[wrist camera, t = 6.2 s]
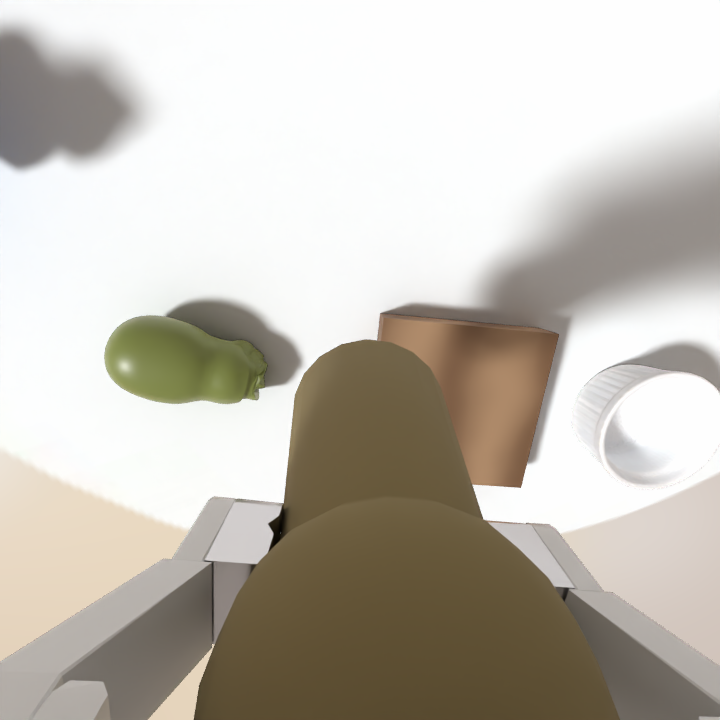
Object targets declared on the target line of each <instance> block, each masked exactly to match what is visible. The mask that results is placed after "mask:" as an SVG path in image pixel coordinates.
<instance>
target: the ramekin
mask: <svg viewBox="0 0 720 720" xmlns="http://www.w3.org/2000/svg"><path fill="white" fill-rule="evenodd" d="M571 423H572V429H573V432H574V434H575V436H576V439H577V440H578V441H579V443H580V444H581V445H582V446H583V447H584V448H585V449H586V450H587V451H588V452H589V453H590V454H591V455H592V456H593V457H594V458H595V459H597V460H598V461H599V462H600V463H601V464H602V466H603V467H604V468H605V470H606V471H607V472H608V473H609V474H610V475H611V476H612V477H613V478H614V479H615V480H617V481H618V482H620V483H622V484H624V485H626V486H629V487H632V488H637V489H647V490H650V489H659V488H664V487H668V486H671V485H674V484H676V483H679V482H681V481H683V480H685V479H686V478H688V477H690V476H691V475H693V474H694V473H695V472H697V471H698V470H700V469H701V468H702V467H703V466H704V465H705V464H706V463H707V462H708V461H709V459H710V458H711V457H712V456H713V454H714V453H715V451H716V450H717V448H718V447H719V445H720V392H719V391H718V389H717V388H716V387H715V386H714V385H713V384H712V383H710V382H709V381H708V380H706V379H705V378H703V377H701V376H698V375H696V374H692V373H688V372H681V371H667V370H662V369H657V368H653V367H648V366H642V365H634V364H631V365H619V366H615V367H611V368H609V369H607V370H604V371H602V372H600V373H599V374H597V375H596V376H595V377H593V378H592V379H591V380H590V381H589V382H588V383H587V384H586V385H585V386H584V387H583V388H582V389H581V391H580V392H579V394H578V396H577V398H576V400H575V402H574V405H573V408H572V414H571Z"/></svg>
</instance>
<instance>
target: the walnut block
mask: <svg viewBox="0 0 720 720" xmlns="http://www.w3.org/2000/svg"><path fill="white" fill-rule="evenodd" d="M558 337H559V334H557V333H554V332H551V331H547V330H544V329H541V328H534V327H523V326H512V325H502V324H491V323H480V322H469V321H459V320H448V319H437V318H427V317H416V316H405V315H394V314H384V313H380V321H379V330H378V339H377V341H385V342H392V343H394V344H396V345H398V346H401V347H403V348H405V349H407V350H410V351H412V352H414V353H415V354H416V355H417V356H418V357H419V358H420V359H421V360H422V361H423V362H424V363H426V364H427V365H428V366H429V367H430V368H431V370H432V372H433V374H434V376H435V378H436V379H437V381H438V383H439V385H440V387H441V389H442V393H443V396H444V399H445V402H446V405H447V408H448V411H449V414H450V417H451V421H452V424H453V427H454V430H455V433H456V436H457V439H458V442H459V445H460V449H461V452H462V455H463V458H464V461H465V464H466V467H467V470H468V474H469V477H470V480H471V483H472V484H474V485H489V486H504V487H518V488H521V485H522V481H523V477H524V473H525V469H526V465H527V461H528V457H529V453H530V449H531V445H532V441H533V437H534V433H535V429H536V425H537V421H538V417H539V413H540V409H541V405H542V401H543V397H544V393H545V389H546V385H547V381H548V377H549V373H550V369H551V365H552V361H553V357H554V353H555V349H556V345H557V341H558Z"/></svg>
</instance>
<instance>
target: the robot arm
mask: <svg viewBox="0 0 720 720" xmlns="http://www.w3.org/2000/svg"><path fill="white" fill-rule="evenodd" d="M283 515H284V503H274V502H265V501H256V500H246V499H234V498H224V497H212V498H211V499H210V500H208V502H207V503H206V505H205V506H204V508H203V510H202V511H201V513H200V514H199V516H198V518H197V519H196V521H195V522H194V524H193V526H192V527H191V529H190V530H189V532H188V534H187V535H186V537H185V539H184V540H183V542H182V543H181V545H180V546H179V548H178V550H177V551H176V553H175V554H174V556H173V558H172V559H162V560H160V561H159V562H157V563H156V564H154V565H153V566H151V567H149V568H148V569H146V570H145V571H143V572H141V573H140V574H138V575H137V576H135V577H133V578H132V579H130V580H129V581H127V582H126V583H124V584H122V585H121V586H119V587H118V588H116V589H115V590H113V591H111V592H110V593H108V594H106V595H105V596H103V597H102V598H100V599H99V600H97V601H95V602H94V603H92V604H91V605H89V606H87V607H86V608H84V609H83V610H81V611H80V612H78V613H76V614H75V615H73V616H72V617H70V618H69V619H67V620H65V621H64V622H62V623H61V624H59V625H57V626H56V627H54V628H53V629H51V630H50V631H48V632H46V633H45V634H43V635H42V636H40V637H38V638H37V639H35V640H34V641H32V642H31V643H29V644H27V645H26V646H24V647H23V648H21V649H19V650H18V651H16V652H15V653H13V654H11V655H10V656H8V657H7V658H5V659H4V660H2V661H0V720H148V719H149V717H150V716H151V715H152V714H153V713H154V712H155V711H156V710H157V709H158V707H159V706H160V705H161V704H162V703H163V702H164V701H165V699H166V698H167V697H168V696H169V695H170V694H171V693H172V692H173V691H174V689H175V688H176V687H177V686H178V685H179V684H180V683H181V682H182V680H183V679H184V678H185V677H186V676H187V675H188V673H190V672H191V670H192V669H193V668H194V667H195V666H196V665H197V664H198V663H199V661H200V660H201V659H202V658H203V657H204V656H205V655H206V654H207V652H208V651H209V650H210V649H211V648H212V644H215V643H216V640H217V638H218V635H219V633H220V631H221V629H222V626H223V624H224V622H225V620H226V618H227V615H228V613H229V611H230V609H231V607H232V604H233V602H234V600H235V598H236V596H237V594H238V592H239V591H240V589H241V588H242V586H243V585H244V583H245V582H246V580H247V579H248V577H249V576H250V574H251V573H252V571H253V570H254V568H255V567H256V565H257V564H258V562H259V561H260V560H261V559H262V558H263V557H264V556H265V555H266V554H267V553H268V552H269V551H270V550H271V549H272V548H273V547H274V546H275V545H276V544H277V543H278V542H279V541H280V536H281V534H280V533H281V526H282V520H283ZM485 521H486V520H485ZM486 522H488V523H489V524H490V525H491V526H492V527H494V528H495V529H496V530H497V531H498V532H500V533H501V534H502V535H503V536H504V537H506V538H507V539H508V540H509V541H511V542H512V543H513V544H514V545H515V546H517V547H518V548H519V549H520V550H521V551H522V552H523V553H524V554H525V555H526V556H527V557H528V558H529V559H530V560H531V561H532V562H533V563H534V564H535V565H536V566H537V567H538V568H539V569H540V570H541V571H542V572H543V573H544V574H545V575H546V576H547V577H548V578H549V579H550V581H551V583H552V584H553V586H554V587H555V589H556V590H557V592H558V593H559V595H560V596H561V598H562V600H563V601H564V603H565V604H566V606H567V607H568V609H569V610H570V612H571V613H572V615H573V617H574V618H575V620H576V621H577V623H578V625H579V627H580V629H581V631H582V633H583V635H584V636H585V638H586V640H587V642H588V644H589V646H590V648H591V650H592V652H593V654H594V656H595V658H596V659H597V661H598V663H599V666H600V668H601V671H602V673H603V676H604V679H605V681H606V684H607V686H608V689H609V692H610V694H611V697H612V700H613V702H614V705H615V707H616V710H617V713H618V715H619V718H620V720H720V666H719V665H718V664H716V663H715V662H713V661H712V660H711V659H709V658H708V657H706V656H705V655H703V654H702V653H700V652H699V651H697V650H696V649H694V648H693V647H692V646H690V645H689V644H687V643H686V642H684V641H683V640H681V639H680V638H678V637H677V636H676V635H674V634H673V633H671V632H670V631H668V630H667V629H665V628H664V627H662V626H661V625H660V624H658V623H657V622H655V621H654V620H652V619H651V618H649V617H648V616H646V615H645V614H643V613H642V612H641V611H639V610H638V609H636V608H635V607H633V606H632V605H630V604H629V603H627V602H626V601H625V600H623V599H622V598H620V597H619V596H617V595H616V594H614V593H613V592H605V591H604V590H603V589H602V588H601V586H600V585H599V584H598V583H597V581H596V580H595V579H594V577H593V576H592V575H591V574H590V572H589V571H588V570H587V568H586V567H585V566H584V564H583V563H582V562H581V561H580V559H579V558H578V557H577V555H576V554H575V553H574V552H573V550H572V549H571V548H570V546H569V545H568V544H567V543H566V542H565V540H564V539H563V537H562V536H561V535H560V534H559V532H558V531H557V530H556V529H555V528H554V527H553V526H551V525H549V524H535V523H526V524H524V523H512V522H499V521H486Z"/></svg>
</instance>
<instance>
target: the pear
mask: <svg viewBox="0 0 720 720" xmlns="http://www.w3.org/2000/svg"><path fill="white" fill-rule="evenodd" d="M263 357H264V355H263V354H261V353H260V352H259V351H258V350H257V349H255V348H254V347H253V345H252V344H251V343H249V342H248V341H245V340H234V341H227V340H223V339H219V338H216V337H213V336H211V335H209V334H207V333H206V332H204V331H203V330H201V329H200V328H198V327H196V326H194V325H192V324H189V323H187V322H184V321H181V320H177V319H174V318H169V317H164V316H140V317H135V318H132V319H130V320H127V321H126V322H124V323H122V324H121V325H120V326H119V327H117V328H116V330H115V331H114V332H113V333H112V335H111V336H110V338H109V340H108V342H107V345H106V348H105V355H104V359H105V366H106V369H107V372H108V374H109V375H110V377H111V378H112V380H113V381H114V382H115V383H116V384H117V385H118V386H120V387H121V388H123V389H124V390H126V391H128V392H130V393H132V394H134V395H137V396H139V397H142V398H145V399H148V400H152V401H156V402H162V403H170V404H181V403H188V402H193V401H200V400H205V401H211V402H215V403H220V404H232V403H238V402H240V401H241V400H242V399H252V400H258V399H259V388H265V380H264V374H265V372H266V369H267V366H268V365H267V364H266V362H265V361H264V359H263Z"/></svg>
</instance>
